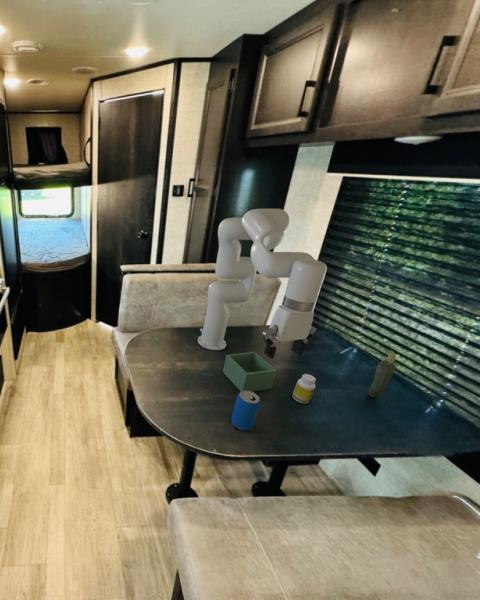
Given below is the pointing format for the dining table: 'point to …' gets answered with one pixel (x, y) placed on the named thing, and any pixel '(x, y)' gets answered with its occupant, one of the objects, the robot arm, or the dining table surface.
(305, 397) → the supplement bottle
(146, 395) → the dining table surface
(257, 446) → the dining table surface
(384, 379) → the olive brown bottle
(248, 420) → the beverage can
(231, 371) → the bin
